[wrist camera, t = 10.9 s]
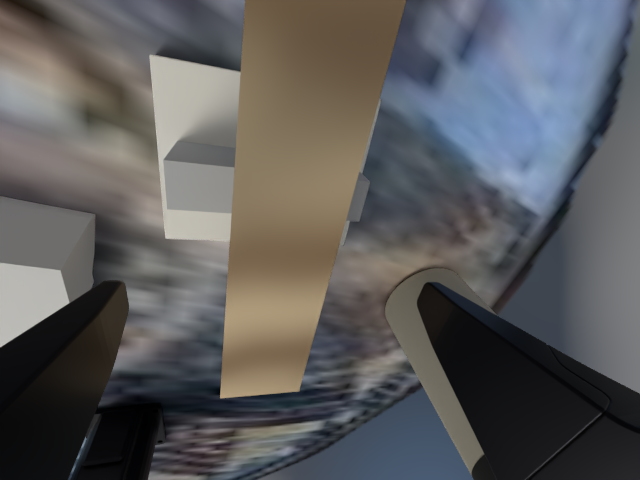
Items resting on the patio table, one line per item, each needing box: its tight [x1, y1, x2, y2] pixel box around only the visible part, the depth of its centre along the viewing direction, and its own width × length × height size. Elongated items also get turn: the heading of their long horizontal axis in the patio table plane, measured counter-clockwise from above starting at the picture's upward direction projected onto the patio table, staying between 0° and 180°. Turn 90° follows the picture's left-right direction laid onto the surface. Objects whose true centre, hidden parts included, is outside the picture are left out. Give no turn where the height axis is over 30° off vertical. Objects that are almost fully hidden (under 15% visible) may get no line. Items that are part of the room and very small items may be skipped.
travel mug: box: [385, 268, 497, 480], centre depth 21 cm, size 8×8×18 cm
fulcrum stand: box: [150, 55, 381, 246], centre depth 17 cm, size 10×12×4 cm
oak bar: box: [220, 0, 406, 398], centre depth 13 cm, size 18×4×5 cm, turn 168°
